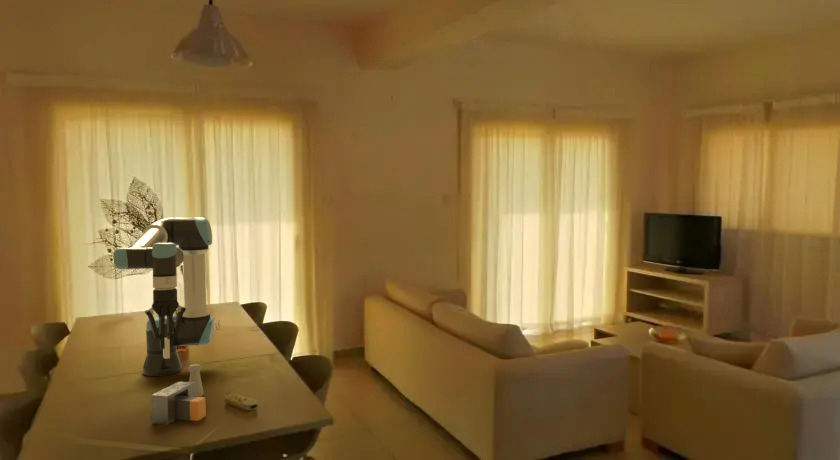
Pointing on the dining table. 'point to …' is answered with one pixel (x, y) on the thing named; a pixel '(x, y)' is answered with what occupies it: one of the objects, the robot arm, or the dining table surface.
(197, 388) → the salt shaker
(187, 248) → the robot arm
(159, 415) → the block
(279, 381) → the dining table surface
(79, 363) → the dining table surface
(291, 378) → the dining table surface
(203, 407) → the plug
